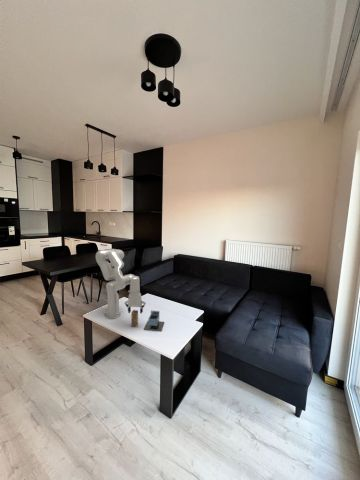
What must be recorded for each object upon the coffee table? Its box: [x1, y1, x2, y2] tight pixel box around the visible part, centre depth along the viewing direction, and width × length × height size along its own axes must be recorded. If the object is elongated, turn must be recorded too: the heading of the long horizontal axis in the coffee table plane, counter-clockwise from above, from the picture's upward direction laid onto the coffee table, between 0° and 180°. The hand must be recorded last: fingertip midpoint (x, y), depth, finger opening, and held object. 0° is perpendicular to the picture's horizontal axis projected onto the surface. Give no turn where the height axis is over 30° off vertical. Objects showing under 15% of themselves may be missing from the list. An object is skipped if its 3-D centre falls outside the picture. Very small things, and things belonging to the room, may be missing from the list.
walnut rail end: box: [130, 309, 139, 328], centre depth 157 cm, size 4×4×12 cm
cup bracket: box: [143, 310, 165, 332], centre depth 156 cm, size 14×12×12 cm
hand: (135, 312), depth 156 cm, fingers open, 9 cm apart
